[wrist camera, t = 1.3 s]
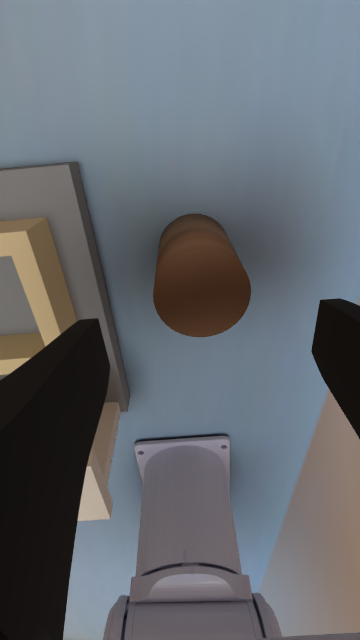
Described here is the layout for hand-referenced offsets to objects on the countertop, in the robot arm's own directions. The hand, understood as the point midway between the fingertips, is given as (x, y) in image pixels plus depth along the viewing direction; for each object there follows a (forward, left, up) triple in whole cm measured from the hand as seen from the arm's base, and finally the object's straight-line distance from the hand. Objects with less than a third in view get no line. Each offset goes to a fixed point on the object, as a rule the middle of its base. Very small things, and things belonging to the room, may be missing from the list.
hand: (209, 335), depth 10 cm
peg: (0, 0, -9) cm, 9 cm away
